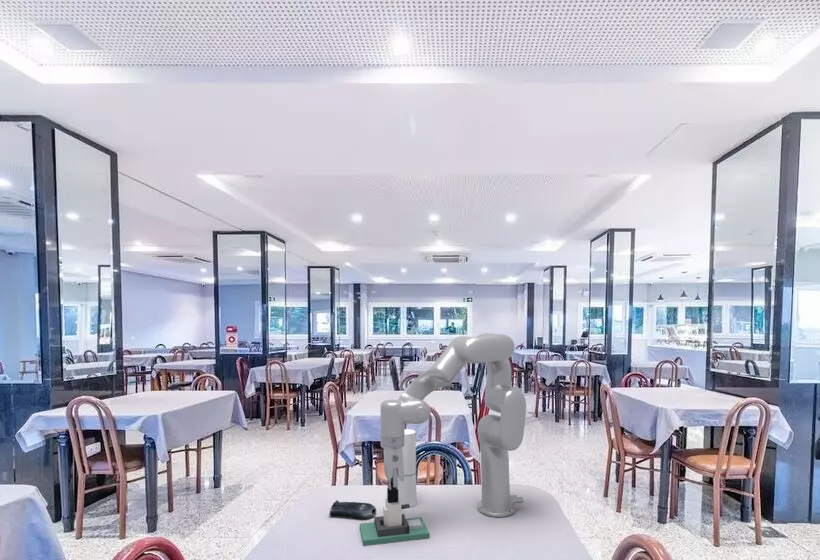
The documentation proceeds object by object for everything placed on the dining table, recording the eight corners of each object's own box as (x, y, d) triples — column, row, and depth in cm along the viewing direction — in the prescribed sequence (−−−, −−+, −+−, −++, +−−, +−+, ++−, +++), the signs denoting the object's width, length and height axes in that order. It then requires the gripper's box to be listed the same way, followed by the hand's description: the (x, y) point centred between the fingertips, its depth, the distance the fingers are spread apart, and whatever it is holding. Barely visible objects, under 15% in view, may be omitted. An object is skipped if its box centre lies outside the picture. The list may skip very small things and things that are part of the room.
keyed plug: (407, 522, 143) (407, 496, 143) (411, 529, 138) (410, 502, 138) (383, 525, 141) (382, 499, 141) (385, 533, 136) (385, 505, 137)
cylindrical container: (404, 497, 166) (403, 428, 167) (420, 502, 161) (419, 431, 163) (392, 504, 160) (391, 432, 162) (408, 509, 156) (407, 435, 157)
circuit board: (421, 521, 146) (421, 510, 147) (429, 538, 136) (429, 526, 136) (359, 528, 142) (359, 517, 143) (363, 546, 132) (363, 533, 132)
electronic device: (328, 524, 149) (372, 520, 147) (327, 506, 150) (370, 502, 148) (337, 516, 158) (379, 512, 156) (336, 499, 159) (377, 494, 157)
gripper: (409, 446, 134) (409, 510, 133) (400, 434, 149) (400, 491, 148) (384, 448, 133) (384, 513, 131) (377, 435, 147) (377, 493, 146)
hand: (392, 501), depth 140 cm, fingers closed
